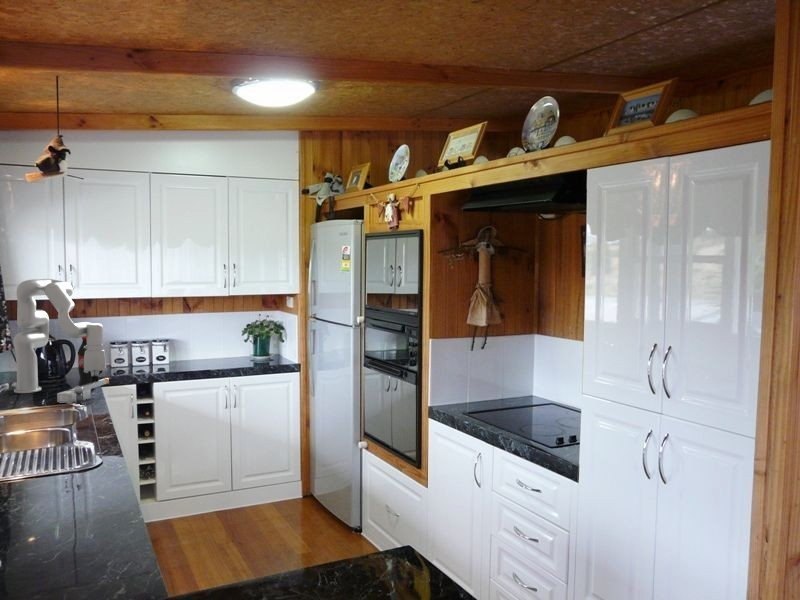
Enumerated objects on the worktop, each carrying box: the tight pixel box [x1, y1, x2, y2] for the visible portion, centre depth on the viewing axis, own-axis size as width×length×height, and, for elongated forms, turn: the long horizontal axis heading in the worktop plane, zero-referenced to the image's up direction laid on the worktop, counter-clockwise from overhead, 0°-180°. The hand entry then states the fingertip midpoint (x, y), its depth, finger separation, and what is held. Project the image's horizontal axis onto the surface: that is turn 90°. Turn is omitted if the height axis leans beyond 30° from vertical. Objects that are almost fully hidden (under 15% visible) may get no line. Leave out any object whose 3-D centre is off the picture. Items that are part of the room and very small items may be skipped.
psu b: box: [68, 387, 92, 401], centre depth 326 cm, size 8×6×5 cm
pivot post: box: [76, 393, 90, 406], centre depth 313 cm, size 6×6×6 cm
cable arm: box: [74, 377, 110, 393], centre depth 323 cm, size 25×4×3 cm, turn 171°
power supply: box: [56, 390, 76, 403], centre depth 318 cm, size 8×6×5 cm
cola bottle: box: [77, 337, 96, 391], centre depth 345 cm, size 8×8×30 cm
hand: (95, 383), depth 330 cm, fingers closed
